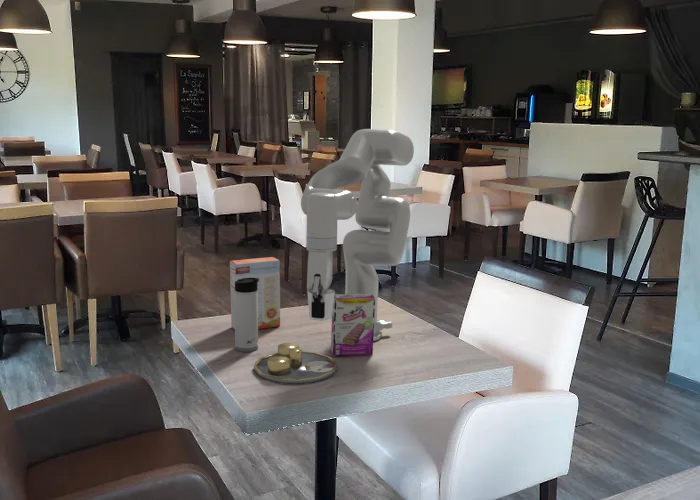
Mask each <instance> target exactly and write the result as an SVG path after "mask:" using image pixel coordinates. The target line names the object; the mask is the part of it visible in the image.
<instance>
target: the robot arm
mask: <svg viewBox="0 0 700 500" xmlns="http://www.w3.org/2000/svg"><path fill="white" fill-rule="evenodd" d="M414 149H415V148H414V142H413V141H412V139H411V138H410V137H409V136H408V135H406V134H403V133H401V132H400V131H396V130H393V129H383V128H382V129H381V128H380V129H379V128H377V129H375V128H374V129H373V128H363V129H359V130H358V129H357V130H356V131H355V132H353V134H352V135H351V137H350V139H349V141H348V142H347V145H346V147H344V150H343V152H342V154H341V156H340V157H339V159H338V160H336V161H334V162H332V163H330V164H329V165H326V166H325V167H323V168H322V169H320V170H318V171H317V172H316V173H314V174H313V175H312V176H311V178H310V179H309V181H308V182H307V184H306V186H305V188H304V189H303V193H302V195H301V199H300V207H301V211H302V212H303V213H304V215H306V238H305V239H306V241H305V242H306V246H305V247H306V250H307V251H309V253H308V261H307V273H306V274H307V276H306V289H307V290H311V289H312V288H313V292H312V306H311V317H312V318H324V317H325V302H324V291H326V290H327V289H328V288H330V286H331V284H332V281H333V264H334V263H333V255H334V254H333V252H334V251H337V248H338V221H339V220H340V221H341V220H342V221H345V220H349V219H350V218H351V219H352V218H353V216H354V215H355V221H356V223H357V225H359V226H360V227H362V228H365V229H353V230H351V231H349V232H347V233H346V234H345V235H344V237H343V241H342V250H343V256H344V257H343V258H344V264H345V265H344V267H345V287H344V288H345V290H344V291H345V292H344V294H372V295H373V296H374V297H375V313H374V335H373V342H375V341H378V340H380V339H381V338H382V337H383V332H382V331H383V330H384V329H392V328H393V323H392V321H385V320H379V319H378V310H379V309H378V306H379V305H378V304H379V276H378V273H377V272H376V269H375V267H374V265H376V266H377V265H378V266H386V267H390V266H391V267H395V266H397V265H399V264H400V263H401V261H402V260H403V256H404V253H405V249H406V248H405V247H406V243H407V242H406V241H407V237H408V232H409V227H410V223H411V207H410V204H409V201H407V200H406V199H405V198H402V197H397V196H395V197H394V196H389V195H390V190H391V181H390V177H388V175H387V173H386V172H385V170H384V169H383V168H382V167H381V165H383V166H399V167H400V166H401V167H402V166H408V165H409V164H410V163H411V162H412V160H413V157H414V153H415V150H414ZM358 183H361V187H360V189H359V190H360V191H359V195H358V198H357V196H356V194H354V192H352V191H350V190H347V189H341V188H345V187H350V186H352V185H355V184H358ZM366 228H367V229H368V230H367V229H366ZM372 229H375V230H372ZM380 230H386V231H380ZM387 230H388V231H387ZM319 288H322V290H319ZM319 293H321V295H320V294H319Z"/></svg>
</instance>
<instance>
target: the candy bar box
mask: <svg viewBox="0 0 700 500" xmlns="http://www.w3.org/2000/svg"><path fill="white" fill-rule="evenodd" d="M374 313H375V297H374V296H373V295H372V294H345V293H335V294H334V303H333V312H332V318H331V329H330V330H331V333H330V336H331V337H330V339H331V340H330V352H331V354H332V356H333V357H354V356H356V357H357V356H358V357H359V356H373V353H374V341H373V335H374Z"/></svg>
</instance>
